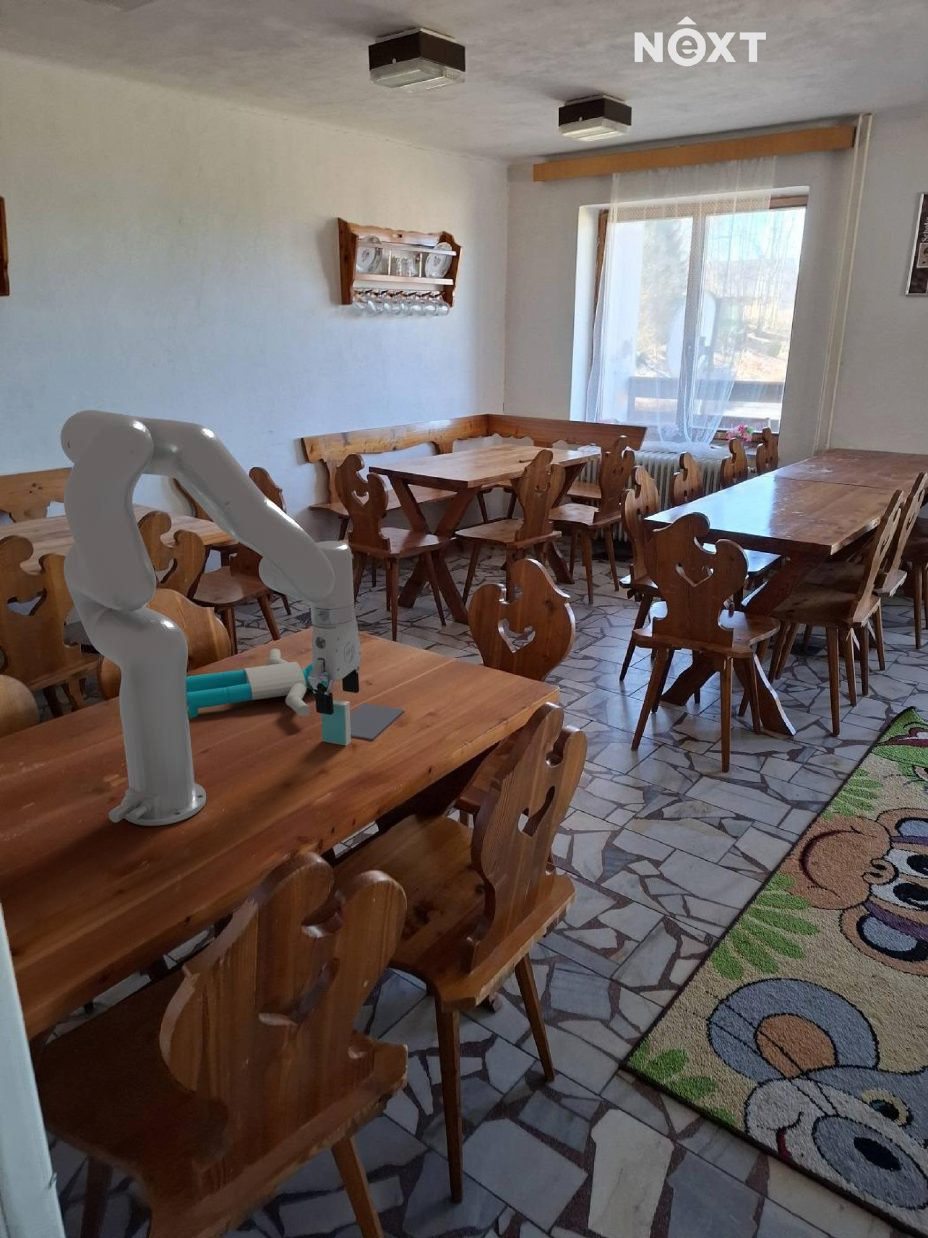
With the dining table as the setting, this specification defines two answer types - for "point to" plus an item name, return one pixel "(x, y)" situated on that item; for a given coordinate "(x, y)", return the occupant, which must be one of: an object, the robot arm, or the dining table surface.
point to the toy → (251, 685)
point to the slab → (337, 724)
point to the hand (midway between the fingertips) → (338, 702)
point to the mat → (372, 720)
